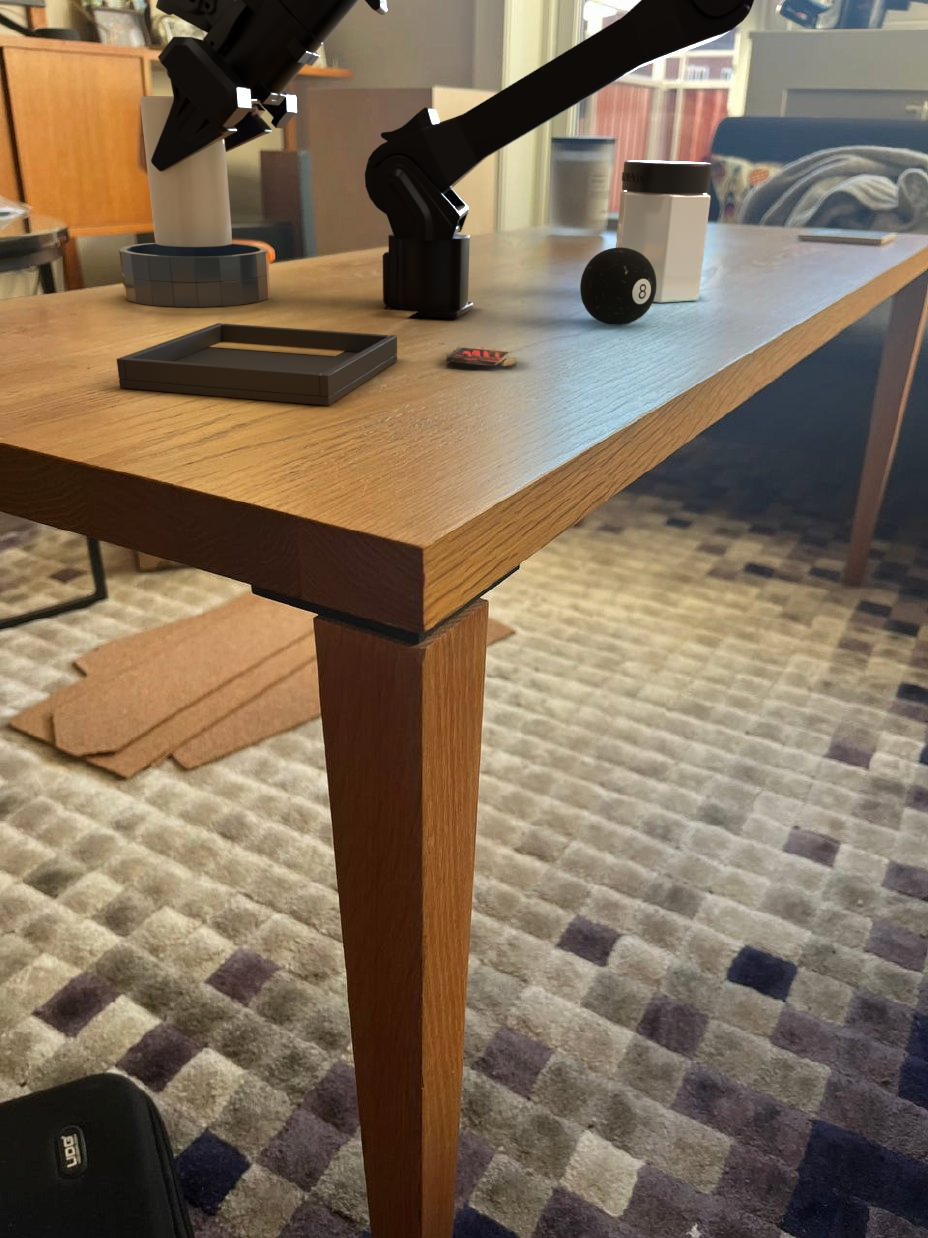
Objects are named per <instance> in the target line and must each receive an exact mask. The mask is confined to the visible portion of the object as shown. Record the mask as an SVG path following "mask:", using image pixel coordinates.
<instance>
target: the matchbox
mask: <svg viewBox="0 0 928 1238" xmlns="http://www.w3.org/2000/svg"><path fill="white" fill-rule="evenodd" d="M509 354H512V350H501V349H495V348H492V349H491V348H486V347H468V346H467V347H465V346H463V347H462V346H457V347H456V349H453V351H451V352H450V353H449V354H448V353H447V354H446V362H450V363H457V364H459V363H461V364H469V365H478V366H496V365H497V366H503V367H508V366H509V367H510V366H516V365H517V363H518V360H517V359H516V357H515V358H514V357H512V358H509V356H510V355H509ZM501 362H502V364H500V365H499V363H501ZM462 367H464V366H463V365H461V368H462Z"/></svg>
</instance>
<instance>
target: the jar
mask: <svg viewBox="0 0 928 1238" xmlns="http://www.w3.org/2000/svg"><path fill="white" fill-rule="evenodd" d="M712 168H713V164H712V163H710V162H698V161H675V160H674V161H673V160H672V161H671V160H625V161H624V162H623V170H622V173H621V191H620V195H619V208H618V219H617V228H616V236H615V237H616V241H615V242H616V243H615V248H618V247H622V248H629V249H633V250H635V251H638V252H639V253H641V254H642V255H644V256H645V257H646V258H647V259H648V260H649V261H650V263H651V265H652V266H653V269H654V271H655V275H656V283H657V287H656V294H655V297H654V300H653V303H662V304H663V303H676V302H693V301H694V302H695V301H697V300H699V298H700V297H699V296H700V288H701V282H702V281H701V280H702V271H703V263H704V255H705V246H706V245H705V244H706V239H707V232H708V231H707V230H708V222H709V214H710V206H711V199H712V197H711V195H710V194H709V193H710V186H711V176H712V171H713V169H712Z"/></svg>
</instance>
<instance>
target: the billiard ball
mask: <svg viewBox="0 0 928 1238" xmlns="http://www.w3.org/2000/svg"><path fill="white" fill-rule="evenodd" d="M656 287H657V283H656V275H655V271H654V269H653V266H652V265H651V263H650V261H649V260H648V259H647V258H646V257H645V256H644V255H642V254H641V253H639V252H638V251H635V250H633V249H629V248H622V247H618V248H616V247H611V248H607V249H604V250H602V251H600V252H599V253H597V254H595V255H594V256H593V257H592V258H591V259H590V260H589V261H588V263H587V264H586V265H585V267H584V270H583V272H582V274H581V278H580V283H579V291H580V297H581V302H582V304H583V306H584V308H585V310H586V311H587V313H588V314H589V315H590V316H591V317H592V318H593V319H595V320H596V321H598V322H600V323H603V324H606V325H610V326H624V325H628V324H631V323H634V322H636V321H638V320H639V319H642V317H643V316H645V314H646V313H647V312H648V311H649V310H650V308H651V306H652V304H653V303H654V302H653V300H654V297H655V294H656Z"/></svg>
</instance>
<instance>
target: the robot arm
mask: <svg viewBox="0 0 928 1238" xmlns="http://www.w3.org/2000/svg"><path fill="white" fill-rule="evenodd" d="M359 1H360V0H157V1H156V4H155V8H156V9H157V10H159V11H161V12H163V13H164V14H166V15H168V16H172V15H174V16H175V17H177V18H179V19H181V20H183V21H184V22H186V23H188V24H190V25H192V26H193V27H195V28H197V29H199V30H201V31H203V32H205V33H206V35H204V37H203V38H202V39H201V38H196V37H193V36H173V37H172V38H171V39H170V41H168V43H167V44H166V45H165V47H164V48H163V49H162V51H161V52H160V53H159V55H158V56H157V59H158V60H159V62H160V64H161V65H162V66H163V68H164V69H166V75H167V78H168V79H169V80H170V84H171V90H172V97H174V99H173V103H172V106H171V109H170V112H169V115H168V118H167V120H166V123H165V126H164V128H163V131H162V133H161V136H160V138H159V141H158V143H157V146H156V148H155V151H154V154H153V156H152V159H151V163H152V164H153V165H154V166H155V167H156V168H157V169H158V170H159V171H165V170H166V169H168V168H170V167H172V166H174V165H176V164H178V163H180V162H182V161H183V160H185V159H187V158H189V157H191V156H192V155H194V154H196V153H198V152H200V151H202V150H203V149H205V148H207V147H209V146H211V145H212V144H214V143H216V142H218V141H220V140H222V139H224V138H225V149H226V153H228V152H230V151H232V150H235V149H237V148H239V147H241V146H243V145H245V144H248V143H249V142H252V141H254V140H256V139H259V138H260V137H263V136H266V135H268V134H270V133H271V132H273V130H272V128H271V126H270V125H269V124H268V123H267V122H266V121H265V120H264V118H262V116H263V114H264V113H265V112H266V111H267V112H268V114H269V115H270V116H271V117H272V120H271V121H270V123H271V125H272V126H273V127H274V128H275V129H284V128H285V127H286V126H287V125H288V123H290V121H291V120H292V119H293V118H294V116H295V115H296V114H297V113H298V109H297V108H298V107H297V106H298V105H297V95H296V94H295V93H294V92H293V91H292V90H291V88H290V87H288V86H289V85H290V84H291V82H292V81H293V80H294V79H295V78H296V76H297V75H298V74H299V73H300V72H301V71H302V70H303V68H304V67H305V66H306V65H307V66H311V67H312V66H313V65H314V64H315V63H316V61H317V60H318V59H319V58H320V57H321V55H320V54H319V53H318V50H319V49H320V48H321V47H322V46H323V44H324V43H325V42H326V41H327V40H328V39H329V37H330V36H331V35H332V34H333V32H334V31H335V30H336V29H337V27H338V26H339V25H340V24H341V23H342V22H343V20H344V19H345V18H346V17H347V16H348V14H349V13H350V12H351V11H352V10H353V8H354V7H355V6H356V5H357V4H358V3H359ZM364 2H366V4H367V5H368V7H370V8H371V10H373V11H374V12H376V13H377V14H379V15H380V16H384V15H386V14H387V13H388V3H387V0H364ZM754 3H755V0H640V1H639V2H637V3H636V4H635V5H634V6H633V7H632V8H631V9H630V10H629V11H627V12H626V13H625V14H624V15H623V16H622V17H620V18H619V19H616V20H615V21H613V23H610V24H609V25H607V26H606V27H604V28H602V29H600V30H599V31H597V32H596V33H594V34H592V35H591V36H588V37H587V38H586V39H584V40H582V41H581V42H579V43H577V44H576V45H574V46H572V47H571V48H569V49H568V50H566V51H565V52H563V53H561V54H559V55H558V56H556V57H554V58H553V59H551V60H549V61H548V62H546V63H545V64H543V65H541V66H540V67H538V68H536V69H534V70H533V71H531V72H530V73H528V74H526V75H525V76H523V77H521V78H520V79H518V80H516V81H515V82H513V83H512V84H509V85H508V86H507V87H505V88H504V89H502V90H500V91H499V92H497V93H495V94H494V95H492V96H491V97H488V98H486V100H483V101H482V102H480V103H479V104H477V105H476V106H474V107H472V108H470V109H469V110H468V111H466V112H464V113H461V114H459V115H457V116H454V117H451V118H448V119H445V120H442V121H440V119H439V116H438V113H437V109H434V108H429V107H423V108H422V109H421V110H420V111H418V112H417V113H416V114H415V115H414V116H413V117H412V118H411V119H409V120H408V121H407V122H406V123H405V124H403V125H402V126H401V127H399V128H397V129H394V130H391V131H383V132H381V133H380V137H381V139H383V140H385V142H383V143H381V144H380V145H378V147H376V148H375V149H374V150H373V151H372V153H370V155H369V157H368V159H367V163H366V168H365V170H364V184H365V185H364V186H365V189H366V192H367V194H368V195H367V196H368V197H369V199H370V201H371V202H372V203H373V205H374V206H375V208H377V209H378V210H379V211H381V212H382V213H383V214H385V216H386V218H387V220H388V223H389V227H390V229H391V232H392V233H391V234H388V245H387V246H388V251H385V252H384V253H383V254H382V302H383V304H384V305H386V306H383V307H382V310H386V311H387V310H389V311H390V310H391V311H402V312H403V311H405V312H415V313H413V314H411V316H413V317H415V316H416V317H430V318H445V319H457V318H459V317H460V316H462V315H464V314H465V313H467V312H469V311H470V310H472V309H473V308H474V302H473V301H469V280H470V279H469V277H470V241H471V240H470V238H471V237H470V235H468V234H458V233H461V232H462V230H463V228H464V225H465V222H466V219H467V217H468V214H469V211H470V209H469V206H468V205H467V204H466V202H465V201H464V200H463V199H462V198H461V197H460V196H459V195H458V193H456V191H454V189H453V188H454V187H455V186H456V185H457V184H458V183H460V182H461V181H462V180H463V179H464V178H465V177H467V176H468V175H469V174H470V173H471V172H472V171H473V170H475V168H476V167H477V166H479V165H480V164H482V162H483V161H485V160H486V159H487V158H488V157H490V156H491V155H493V154H495V153H496V152H499V151H500V150H501V149H503V148H505V147H507V146H508V145H510V144H512V143H513V142H515V141H516V140H519V139H521V138H522V137H523V136H526V135H527V134H529V133H530V132H532V131H534V130H535V129H538V128H539V127H540V126H542V125H544V124H545V123H548V122H549V121H551V120H552V119H554V118H556V117H558V116H559V115H561V114H563V113H564V112H566V111H568V110H569V109H571V108H573V107H574V106H576V105H578V104H580V103H582V102H583V101H584V100H587V99H588V98H589V97H591V96H593V95H595V94H596V93H598V92H600V91H601V90H604V89H605V88H606V87H608V86H610V85H612V84H613V83H615V82H617V81H618V80H620V79H622V78H623V77H625V76H627V75H628V74H630V73H632V72H634V71H635V70H637V69H639V68H642V67H644V66H648V65H649V64H652V63H653V64H654V63H655V62H659V61H661V60H664V59H666V58H670V57H672V56H675V55H679V54H682V53H684V52H686V51H689V50H692V49H695V48H698V47H700V46H702V45H705V44H708V43H711V42H713V41H716V40H718V39H720V38H722V37H723V36H725V35H726V34H728V33H729V32H731V31H733V30H734V29H735V28H736V27H737V26H739V25H740V24H741V23H742V22H744V20H745V19H746V18H747V17H748V16H749V14H750V12H751V10H752V8H753V5H754Z"/></svg>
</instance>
